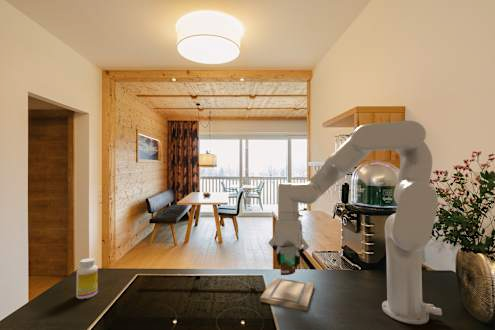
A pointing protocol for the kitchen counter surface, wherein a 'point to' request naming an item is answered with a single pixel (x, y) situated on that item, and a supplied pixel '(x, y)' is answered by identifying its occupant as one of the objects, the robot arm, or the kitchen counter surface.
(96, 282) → the supplement bottle
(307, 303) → the base board
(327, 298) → the kitchen counter surface
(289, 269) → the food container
